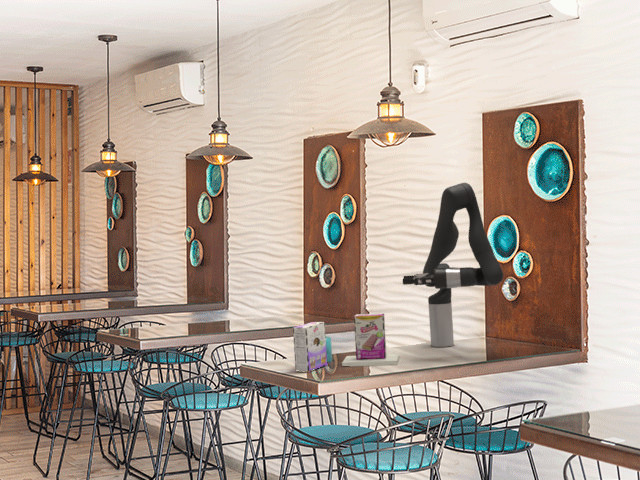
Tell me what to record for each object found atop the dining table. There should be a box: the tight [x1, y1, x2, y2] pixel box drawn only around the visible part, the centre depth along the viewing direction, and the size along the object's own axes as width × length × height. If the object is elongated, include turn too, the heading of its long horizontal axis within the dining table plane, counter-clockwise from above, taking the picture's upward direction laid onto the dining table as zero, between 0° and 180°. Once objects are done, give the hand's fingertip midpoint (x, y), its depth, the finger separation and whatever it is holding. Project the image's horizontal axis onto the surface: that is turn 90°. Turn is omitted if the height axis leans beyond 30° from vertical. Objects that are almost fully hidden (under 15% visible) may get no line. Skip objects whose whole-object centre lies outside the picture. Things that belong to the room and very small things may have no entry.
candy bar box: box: [353, 313, 387, 359], centre depth 306 cm, size 11×5×16 cm, turn 83°
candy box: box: [292, 321, 328, 371], centre depth 301 cm, size 14×6×16 cm, turn 150°
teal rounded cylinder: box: [326, 336, 333, 363], centre depth 315 cm, size 7×7×9 cm
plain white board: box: [341, 353, 400, 367], centre depth 306 cm, size 14×20×2 cm
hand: (403, 280), depth 304 cm, fingers open, 8 cm apart
